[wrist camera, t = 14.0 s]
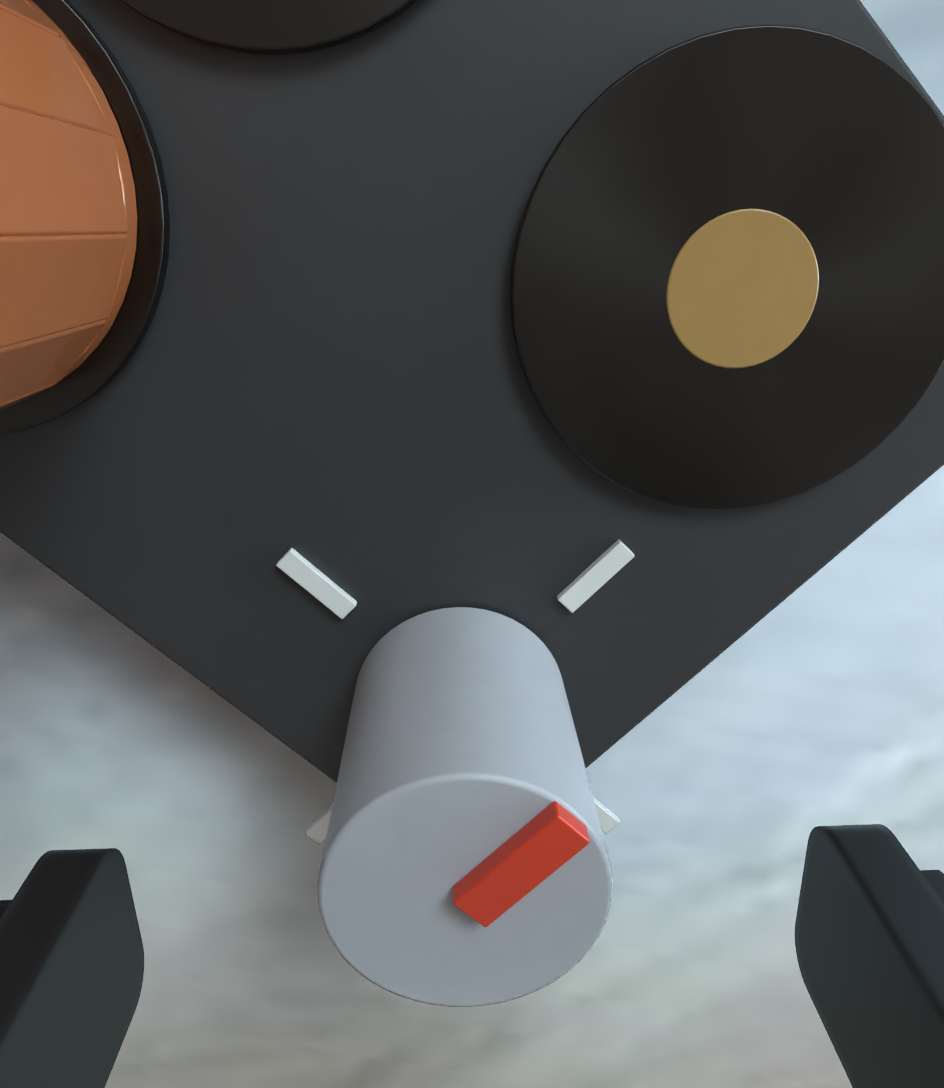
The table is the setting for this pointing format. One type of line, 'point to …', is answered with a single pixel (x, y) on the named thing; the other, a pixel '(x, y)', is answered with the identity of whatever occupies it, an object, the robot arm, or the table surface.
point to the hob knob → (462, 817)
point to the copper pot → (56, 206)
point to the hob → (397, 382)
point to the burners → (659, 251)
